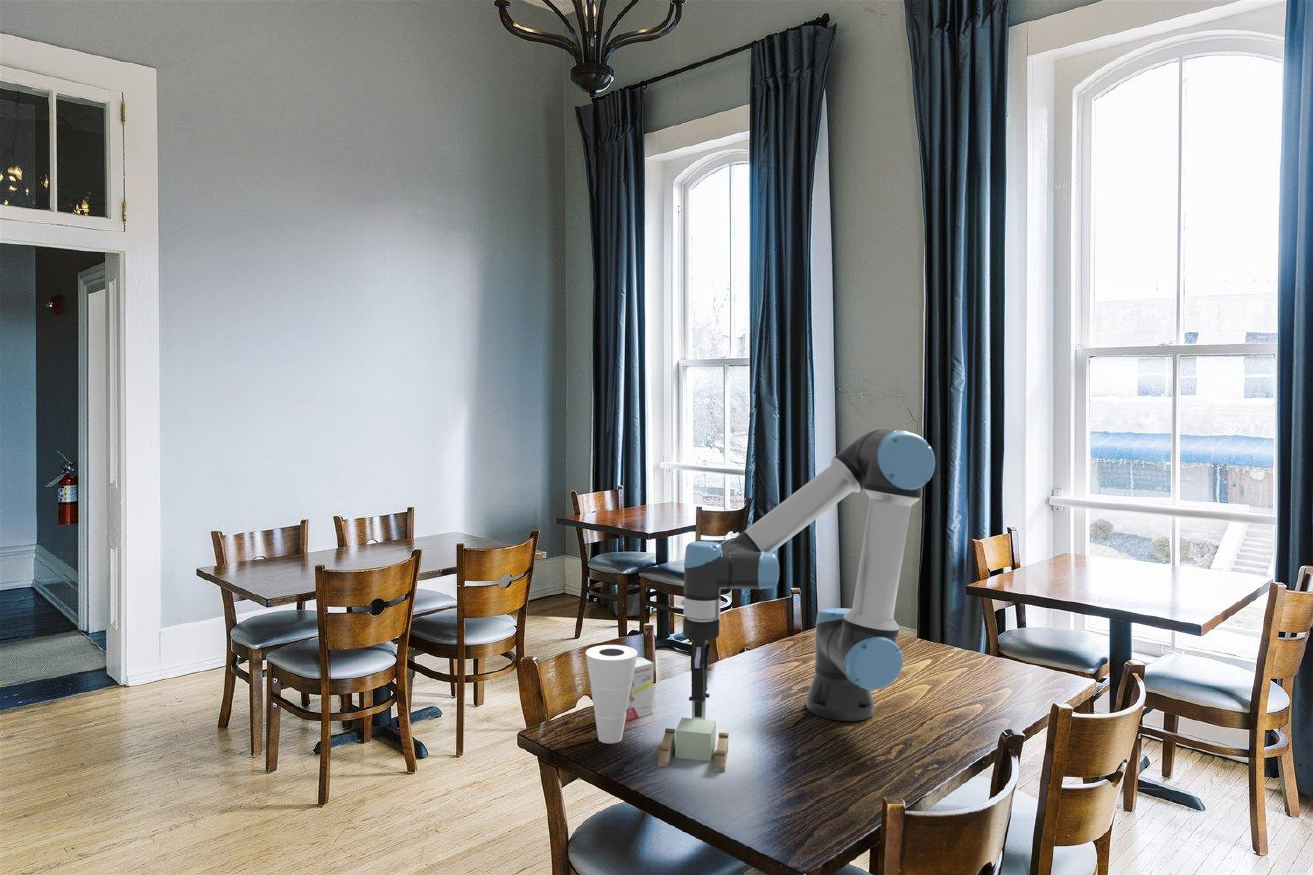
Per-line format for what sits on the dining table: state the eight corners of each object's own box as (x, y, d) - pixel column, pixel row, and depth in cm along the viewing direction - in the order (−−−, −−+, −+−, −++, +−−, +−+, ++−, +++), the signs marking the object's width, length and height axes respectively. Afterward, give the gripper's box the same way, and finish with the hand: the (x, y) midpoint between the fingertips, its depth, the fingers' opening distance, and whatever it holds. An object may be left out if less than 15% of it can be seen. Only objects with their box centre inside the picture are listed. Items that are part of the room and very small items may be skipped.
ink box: (623, 722, 182) (624, 668, 182) (609, 715, 186) (610, 663, 185) (653, 714, 187) (654, 661, 187) (640, 707, 191) (641, 656, 191)
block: (715, 747, 170) (716, 720, 170) (710, 761, 163) (711, 733, 163) (681, 744, 172) (681, 717, 171) (675, 757, 165) (675, 730, 165)
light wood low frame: (728, 750, 168) (728, 733, 168) (724, 771, 159) (725, 753, 158) (665, 745, 170) (665, 728, 170) (658, 766, 160) (658, 747, 160)
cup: (577, 732, 176) (578, 647, 175) (624, 725, 180) (626, 642, 179) (593, 752, 166) (595, 662, 165) (643, 744, 170) (645, 656, 170)
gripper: (687, 608, 180) (684, 717, 181) (679, 624, 167) (676, 741, 168) (722, 610, 179) (719, 720, 180) (716, 626, 166) (713, 744, 167)
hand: (698, 730), depth 174 cm, fingers closed
